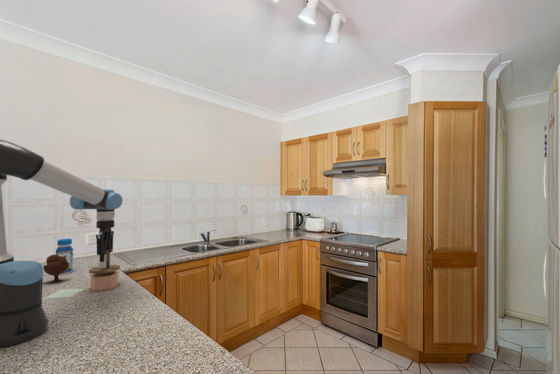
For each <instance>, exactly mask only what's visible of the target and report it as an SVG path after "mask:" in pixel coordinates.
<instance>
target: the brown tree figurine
mask: <svg viewBox="0 0 560 374" xmlns="http://www.w3.org/2000/svg"><path fill="white" fill-rule="evenodd" d="M45 261H46V262H45V263H46V264H45V265H42V268H43V271H44V273H46V274H47V275H48V276H53V278H54V279H52V280H51V281H50V282H49V284H57V283H60V282H63V280H62V279H60V278H59V275H62V274H61V273H63V272H65V271H66V270H67V269H68V267H69V262H67V259H66V258H64V257H61V256H59V255H56V254H51V255H49V256H47V258H46V260H45Z"/></svg>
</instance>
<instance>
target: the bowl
mask: <svg viewBox="0 0 560 374" xmlns="http://www.w3.org/2000/svg"><path fill="white" fill-rule="evenodd" d="M118 285H119V271H118V270H116V271H113V272H108V273H101V274H91V275H90V291H92V292H102V291H107V290H111V289H114V288H117V287H118Z"/></svg>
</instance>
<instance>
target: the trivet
mask: <svg viewBox="0 0 560 374" xmlns="http://www.w3.org/2000/svg"><path fill="white" fill-rule="evenodd" d="M85 289H86V288H69V289H68V288H67V289H59V290H57V291H55V292H53V293H51V294H49V295H48V296H46V297H44V298H43V299H45V300H46V299H58V298H59V299H60V298H72V297H74V296H75V295H77V294H79V293H80V292H82V291H83V290H85Z"/></svg>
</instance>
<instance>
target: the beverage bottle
mask: <svg viewBox="0 0 560 374" xmlns="http://www.w3.org/2000/svg"><path fill="white" fill-rule="evenodd" d="M72 241H73V239H72V238H61V239H58V240H57V246H58V247H57V248H56V249H55V255H59V256H61V257H64V258H66V259H67V262H69V267H68V269H67V270H66V271H65V272H63V273H61V274H60V275H66V274H70V273H72V272H73V270H74V269H73V267H74V264H73V263H74V261H73V260H74V252H73V251H74V248H73V247H72V243H73V242H72Z"/></svg>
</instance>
